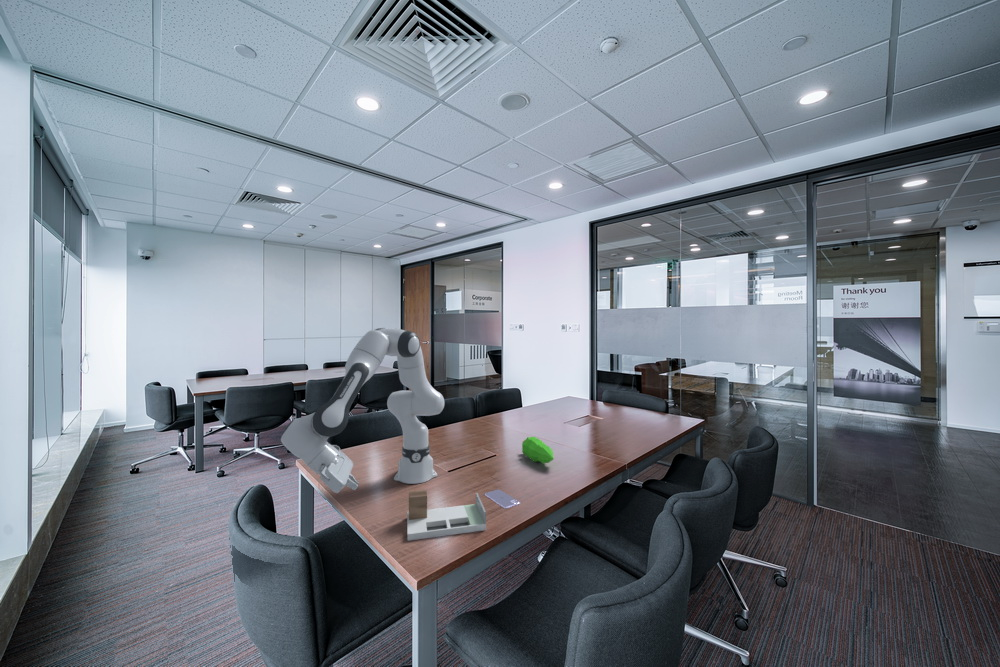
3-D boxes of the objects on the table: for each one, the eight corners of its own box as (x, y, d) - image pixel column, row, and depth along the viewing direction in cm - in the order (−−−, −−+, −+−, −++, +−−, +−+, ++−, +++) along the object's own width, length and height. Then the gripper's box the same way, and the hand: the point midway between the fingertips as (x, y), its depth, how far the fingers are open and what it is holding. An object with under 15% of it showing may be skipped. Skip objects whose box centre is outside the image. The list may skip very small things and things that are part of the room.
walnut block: (408, 513, 129) (408, 491, 129) (426, 511, 130) (426, 489, 130) (408, 520, 124) (408, 497, 124) (427, 517, 126) (427, 495, 126)
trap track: (407, 517, 130) (407, 500, 130) (477, 509, 136) (477, 492, 136) (407, 540, 115) (407, 521, 115) (486, 530, 121) (485, 511, 121)
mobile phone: (499, 488, 153) (521, 502, 140) (499, 490, 153) (521, 504, 140) (483, 492, 149) (504, 507, 136) (483, 495, 149) (504, 509, 136)
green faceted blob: (530, 429, 202) (558, 442, 174) (538, 448, 203) (567, 464, 175) (513, 439, 198) (538, 454, 170) (520, 458, 199) (547, 476, 171)
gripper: (325, 463, 110) (360, 492, 113) (337, 443, 130) (367, 468, 133) (309, 479, 109) (344, 508, 112) (324, 457, 129) (353, 482, 132)
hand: (356, 487), depth 122 cm, fingers closed
